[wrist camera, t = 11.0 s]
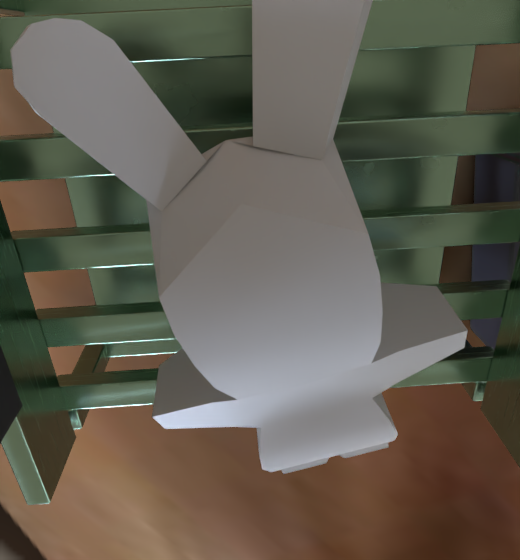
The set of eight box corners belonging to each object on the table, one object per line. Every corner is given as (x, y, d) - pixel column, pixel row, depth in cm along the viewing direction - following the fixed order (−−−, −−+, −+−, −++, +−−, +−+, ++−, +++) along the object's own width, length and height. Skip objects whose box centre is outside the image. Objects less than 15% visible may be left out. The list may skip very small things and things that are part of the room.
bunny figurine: (209, 538, 15) (-136, 81, 7) (210, 415, 20) (-4, 40, 11) (492, 468, 14) (487, -152, 6) (428, 356, 19) (374, -102, 10)
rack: (427, 307, 26) (545, 467, 16) (104, 328, 25) (23, 506, 16) (478, -33, 18) (752, -117, 9) (22, -12, 18) (-230, -76, 8)
